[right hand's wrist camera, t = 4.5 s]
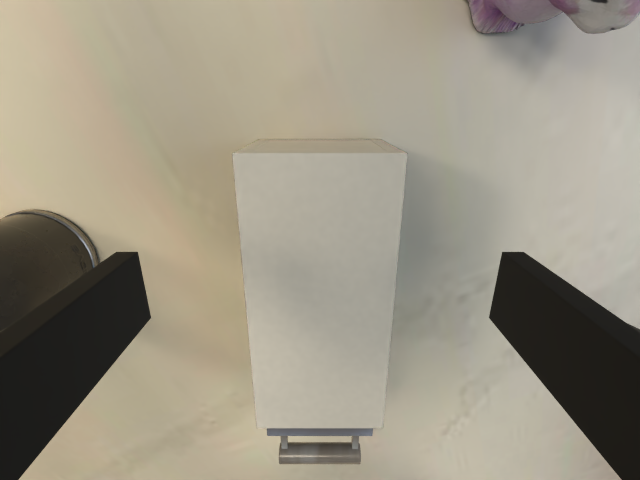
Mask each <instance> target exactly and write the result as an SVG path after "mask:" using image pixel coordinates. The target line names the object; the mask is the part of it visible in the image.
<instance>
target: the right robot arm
mask: <svg viewBox="0 0 640 480" xmlns="http://www.w3.org/2000/svg"><path fill="white" fill-rule="evenodd" d="M150 318H151V316H150V311H149V306H148V301H147V296H146V291H145V286H144V281H143V276H142V271H141V266H140V261H139V256H138V252H116V253H114V254H113V255H111V256H110V257H109V258H107V259H106V260H104V261H103V262H101V263H100V264H98V265H97V266H96V267H94V268H93V269H91V270H90V271H88V272H87V273H85V274H84V275H83V276H81V277H80V278H78V279H77V280H75V281H74V282H72V283H71V284H69V285H68V286H67V287H65V288H64V289H62V290H61V291H59V292H58V293H56V294H55V295H54V296H52V297H51V298H49V299H48V300H46V301H45V302H43V303H42V304H41V305H39V306H38V307H36V308H35V309H33V310H32V311H30V312H29V313H28V314H26V315H25V316H23V317H22V318H20V319H19V320H17V321H16V322H15V323H13V324H12V325H10V326H9V327H7V328H5V329H3V330H1V331H0V480H18V479H19V478H20V477H21V476H22V475H23V473H24V472H25V471H26V470H27V468H28V467H29V466H30V465H31V464H32V462H33V461H34V460H35V459H36V457H37V456H38V455H39V454H40V453H41V451H42V450H43V449H44V448H45V446H46V445H47V444H48V443H49V442H50V440H51V439H52V438H53V437H54V435H55V434H56V433H57V432H58V431H59V429H60V428H61V427H62V426H63V424H64V423H65V422H66V421H67V420H68V418H69V417H70V416H71V415H72V413H73V412H74V411H75V410H76V409H77V407H78V406H79V405H80V404H81V402H82V401H83V400H84V399H85V398H86V396H87V395H88V394H89V393H90V391H91V390H92V389H93V388H94V387H95V385H96V384H97V383H98V382H99V380H100V379H101V378H102V377H103V376H104V374H105V373H106V372H107V371H108V369H109V368H110V367H111V366H112V365H113V363H114V362H115V361H116V360H117V358H118V357H119V356H120V355H121V354H122V352H123V351H124V350H125V349H126V347H127V346H128V345H129V344H130V343H131V341H132V340H133V339H134V338H135V337H136V335H137V334H138V333H139V332H140V330H141V329H142V328H143V327H144V326H145V324H146V323H147V322H148V321H149V319H150ZM489 318H490V319H491V321H492V322H493V323H494V324H495V326H496V327H497V328H498V329H499V330H500V332H501V333H502V334H503V335H504V337H505V338H506V339H507V340H508V341H509V343H510V344H511V345H512V346H513V347H514V349H515V350H516V351H517V352H518V354H519V355H520V356H521V357H522V358H523V360H524V361H525V362H526V363H527V365H528V366H529V367H530V368H531V369H532V371H533V372H534V373H535V374H536V376H537V377H538V378H539V379H540V380H541V382H542V383H543V384H544V385H545V387H546V388H547V389H548V390H549V391H550V393H551V394H552V395H553V396H554V398H555V399H556V400H557V401H558V402H559V404H560V405H561V406H562V407H563V409H564V410H565V411H566V412H567V413H568V415H569V416H570V417H571V418H572V420H573V421H574V422H575V423H576V424H577V426H578V427H579V428H580V429H581V431H582V432H583V433H584V434H585V435H586V437H587V438H588V439H589V440H590V442H591V443H592V444H593V445H594V446H595V448H596V449H597V450H598V451H599V453H600V454H601V455H602V456H603V457H604V459H605V460H606V461H607V462H608V464H609V465H610V466H611V467H612V468H613V470H614V471H615V472H616V473H617V475H618V476H619V477H620V478H621V479H622V480H640V329H638V328H636V327H634V326H631V325H629V324H627V323H625V322H624V321H623V320H621V319H620V318H618V317H617V316H615V315H614V314H612V313H611V312H610V311H608V310H607V309H605V308H604V307H602V306H601V305H599V304H598V303H597V302H595V301H594V300H592V299H591V298H589V297H588V296H586V295H585V294H584V293H582V292H581V291H579V290H578V289H576V288H575V287H573V286H572V285H571V284H569V283H568V282H566V281H565V280H563V279H562V278H560V277H559V276H557V275H556V274H555V273H553V272H552V271H550V270H549V269H547V268H546V267H544V266H543V265H542V264H540V263H539V262H537V261H536V260H534V259H533V258H531V257H530V256H529V255H527V254H526V253H524V252H502V256H501V261H500V266H499V271H498V276H497V281H496V286H495V291H494V296H493V301H492V306H491V311H490V316H489Z"/></svg>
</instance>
